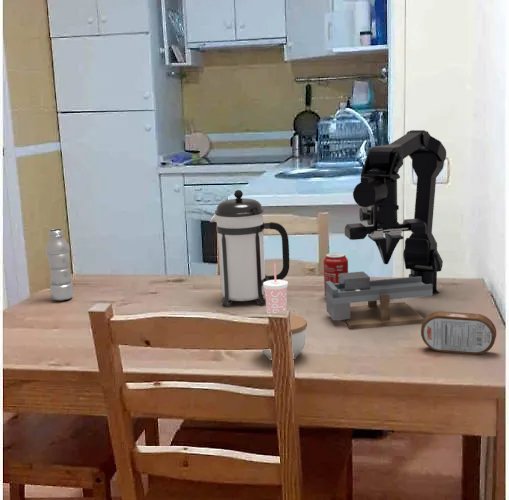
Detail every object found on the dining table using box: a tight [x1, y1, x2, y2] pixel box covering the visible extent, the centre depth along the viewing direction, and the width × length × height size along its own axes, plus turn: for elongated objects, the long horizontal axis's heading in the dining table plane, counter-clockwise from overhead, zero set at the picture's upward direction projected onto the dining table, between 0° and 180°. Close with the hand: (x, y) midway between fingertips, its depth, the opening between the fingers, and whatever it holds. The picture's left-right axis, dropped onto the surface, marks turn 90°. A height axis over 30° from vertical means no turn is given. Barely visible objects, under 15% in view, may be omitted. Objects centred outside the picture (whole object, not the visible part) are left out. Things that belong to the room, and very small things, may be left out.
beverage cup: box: [263, 262, 289, 314], centre depth 173 cm, size 6×6×14 cm
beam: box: [325, 276, 433, 321], centre depth 170 cm, size 24×9×8 cm, turn 97°
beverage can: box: [323, 252, 349, 297], centre depth 187 cm, size 6×6×12 cm
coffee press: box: [209, 189, 290, 308], centre depth 187 cm, size 17×16×30 cm
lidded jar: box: [261, 314, 308, 361], centre depth 148 cm, size 11×11×9 cm
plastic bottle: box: [45, 228, 75, 301], centre depth 197 cm, size 6×7×20 cm
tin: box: [420, 310, 497, 355], centre depth 146 cm, size 15×3×8 cm, turn 70°
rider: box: [339, 271, 371, 292], centre depth 168 cm, size 6×6×4 cm
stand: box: [342, 294, 425, 330], centre depth 170 cm, size 18×14×7 cm
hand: (385, 263), depth 171 cm, fingers closed
